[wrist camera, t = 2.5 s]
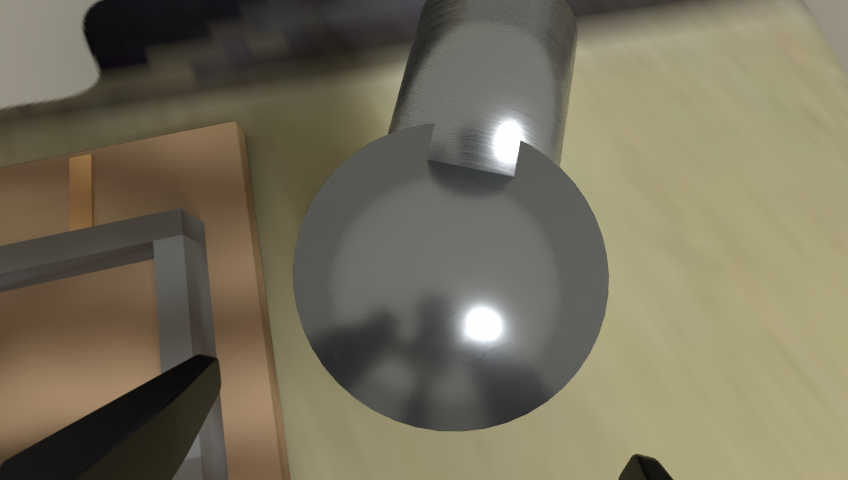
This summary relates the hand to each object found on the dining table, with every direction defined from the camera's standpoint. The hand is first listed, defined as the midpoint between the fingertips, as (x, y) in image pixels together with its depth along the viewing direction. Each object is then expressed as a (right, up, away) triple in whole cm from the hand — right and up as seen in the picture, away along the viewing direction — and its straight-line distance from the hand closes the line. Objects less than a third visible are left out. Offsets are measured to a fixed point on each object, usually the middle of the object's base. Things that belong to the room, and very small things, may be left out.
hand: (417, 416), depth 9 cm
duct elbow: (+1, +2, +11) cm, 11 cm away
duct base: (-14, -1, +10) cm, 18 cm away
